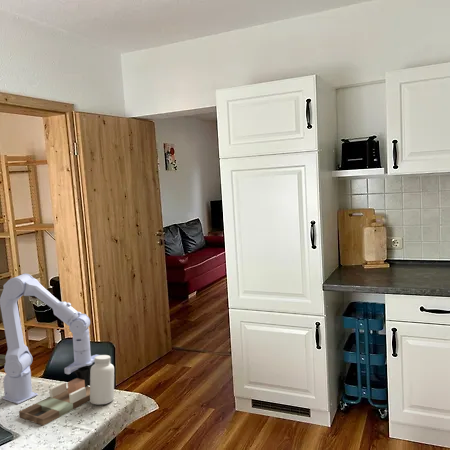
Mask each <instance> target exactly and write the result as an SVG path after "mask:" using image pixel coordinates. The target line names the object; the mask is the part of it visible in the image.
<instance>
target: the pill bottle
mask: <svg viewBox="0 0 450 450" xmlns="http://www.w3.org/2000/svg"><path fill="white" fill-rule="evenodd" d="M98 355H99V356H96V357H95V362H94V364H92V365H93V366H92V367H91V370H90V378H89V387H90V401H89V402H90V403H91V404H93V405H106V404H109V403H111V402H113V400H114V398H115V397H114V396H115V366H114V364H112V363H111V361H112V360H111V356H110V355H108V354H98Z"/></svg>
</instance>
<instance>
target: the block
mask: <svg viewBox="0 0 450 450" xmlns="http://www.w3.org/2000/svg"><path fill="white" fill-rule="evenodd" d="M83 387H85V380H82V379H79V378H78V377H76V378H74V379H72V380H70V381H68V382H67V388H68V394H71V393H73V392H75V391H77V390H79V389H81V388H83Z"/></svg>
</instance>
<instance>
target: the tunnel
mask: <svg viewBox="0 0 450 450" xmlns="http://www.w3.org/2000/svg"><path fill="white" fill-rule="evenodd" d="M66 389H67V382H64V381H62V382H61V383H58V384H56V385H54V386H52V387H49V397H52V398H53V397H55V396H57V395H59V394H61V393H63V392H65V391H67V390H66ZM84 397H86V388H85V387H83V388H81V389H79V390H77V391H75V392H73V393H71V394H69V398H70V403H72V404H73V403H74V402H76V401H78V400H80V399H82V398H84Z"/></svg>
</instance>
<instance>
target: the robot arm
mask: <svg viewBox="0 0 450 450" xmlns="http://www.w3.org/2000/svg"><path fill="white" fill-rule="evenodd" d="M22 296H24V297H35V298H37V299H38V300H40V302H42V303H44V304H45V305H47V306H48V307H49V308H51V309H52V311H53V315H54V316H55V317H57V318H58V319H59V320H60V321H61V322H63V323H64V325H65V324H66V326H68V329H69V331H70V332H71V334H72V347H73V348H72V349H73V359H74V361H73V362H71V363H70V364H69V365H68V366H66V367H64V374H66V375H70V374H71V373H75V374H76V376H77V377H76V378H78V379H82V380H85V387H87V386H88V387H89V383H90V370H91V367H92V366H93V365H94V364H93V363H95V357H96V356H99V355H100V354H93V355H92V354H91V353H92V352H91V338H90V330H89V327H90V325H91V318H90V317H89V316H88V314H86V313H82V312H81V311H78V310H76V309H75V308H74V307H73V306H72V303H71V302H69V301H68V302H67V301H60V300H59V299H58V298H57V297H55V296H54V295H53V294H52V293H51V292H50V291H49V290H48V289H47V288H46V287H44V286H43V285H42V284H41V282H40V281H39V280H38V279H36V278H35V277H33V275H31V274H29V273H22V274H20V275H17V276H15V277H11V278H9V279H8V280H7V281H6V282H5V283H3V289H2V292H1V294H0V311H1V317H2V323H3V328H4V334H5V335H4V336H5V341H6V346H7V351H6V354H5V357H4V358H5V360H4V361H5V363H4V366H3V367H4V373H5V376H3V377H4V378H3V393H4V396H2V399H3V400H5V401H7V402H11V403H13V404H17V405H18V404H22V403H23V402H25V401H28V400H29V399H32V398H35V397H36V396H38V395H39V394H38V393H37V392H34V391H33V387H32V386H33V384H32V371H31V365H32V363H33V361H34V360H33V356H32V354H31V352H30V350H29V347H28V346H27V345H26V344H25V341H24V334H23V330H22V329H23V328H22V322H21V318H20V312H19V307H18V301H19V300H20V299H21V297H22Z"/></svg>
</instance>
